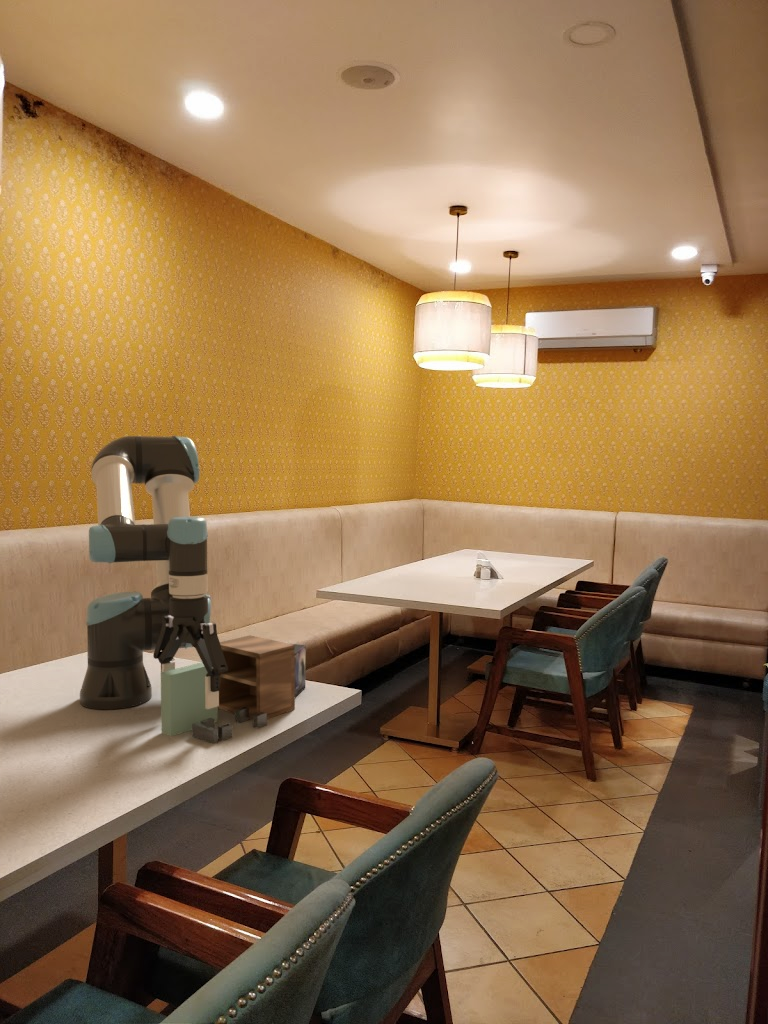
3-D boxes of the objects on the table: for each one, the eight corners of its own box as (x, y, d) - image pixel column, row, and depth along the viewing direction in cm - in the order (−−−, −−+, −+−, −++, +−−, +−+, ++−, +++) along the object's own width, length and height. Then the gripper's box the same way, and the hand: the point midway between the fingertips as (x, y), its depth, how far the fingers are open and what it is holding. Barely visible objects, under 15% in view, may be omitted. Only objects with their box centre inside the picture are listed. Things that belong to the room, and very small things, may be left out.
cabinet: (215, 707, 174) (214, 643, 173) (250, 696, 182) (249, 635, 181) (260, 721, 166) (259, 653, 165) (294, 709, 173) (294, 644, 172)
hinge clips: (192, 736, 157) (192, 723, 157) (245, 718, 167) (245, 706, 167) (213, 743, 153) (213, 730, 153) (266, 725, 163) (266, 712, 163)
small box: (293, 701, 179) (292, 654, 178) (265, 699, 180) (264, 653, 180) (307, 688, 189) (307, 643, 189) (280, 686, 191) (280, 642, 190)
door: (161, 732, 159) (160, 672, 158) (208, 718, 168) (207, 660, 167) (171, 736, 157) (170, 675, 156) (217, 721, 166) (216, 663, 165)
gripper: (134, 591, 165) (136, 693, 167) (214, 605, 150) (216, 717, 151) (165, 586, 171) (166, 685, 172) (245, 599, 156) (246, 708, 157)
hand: (189, 700), depth 162 cm, fingers open, 13 cm apart
